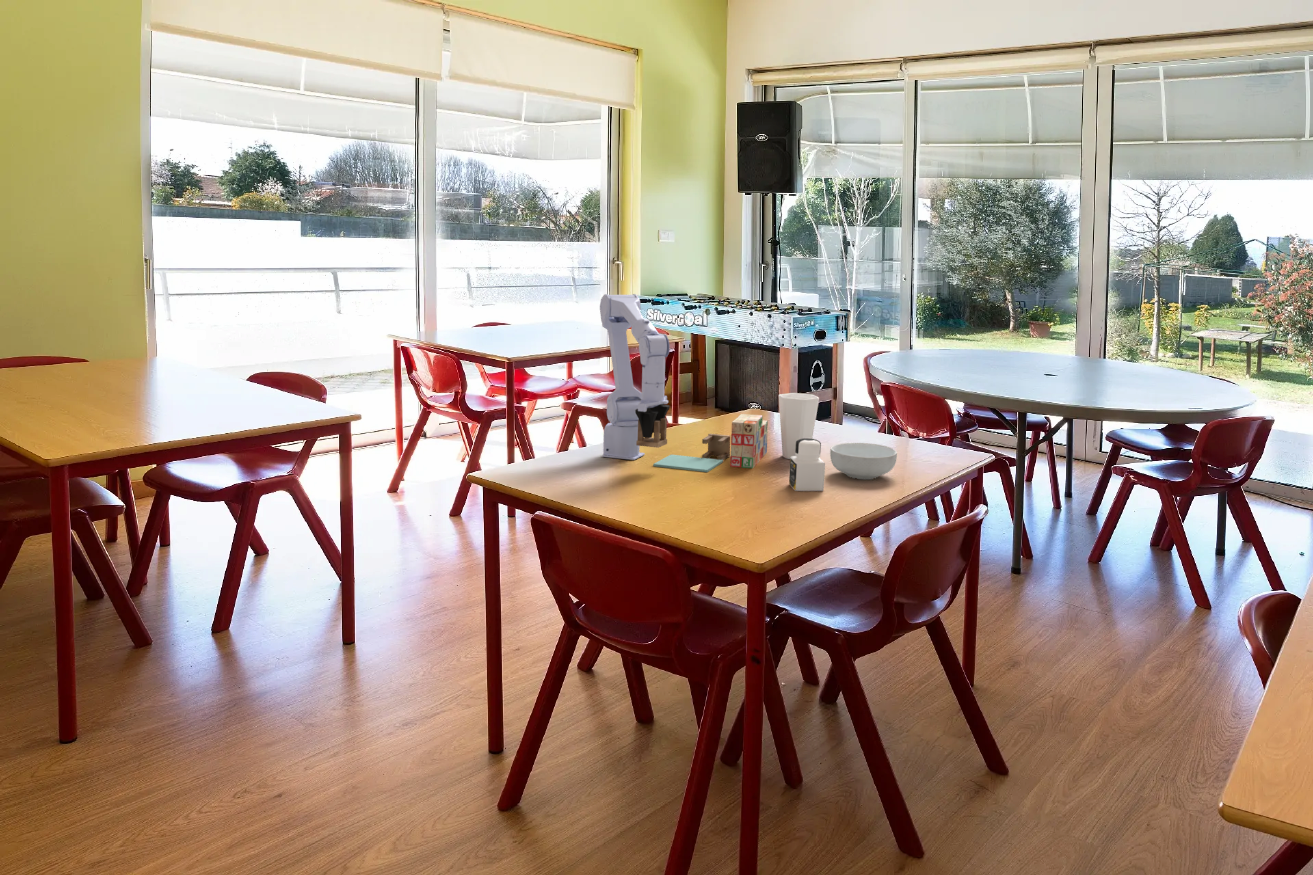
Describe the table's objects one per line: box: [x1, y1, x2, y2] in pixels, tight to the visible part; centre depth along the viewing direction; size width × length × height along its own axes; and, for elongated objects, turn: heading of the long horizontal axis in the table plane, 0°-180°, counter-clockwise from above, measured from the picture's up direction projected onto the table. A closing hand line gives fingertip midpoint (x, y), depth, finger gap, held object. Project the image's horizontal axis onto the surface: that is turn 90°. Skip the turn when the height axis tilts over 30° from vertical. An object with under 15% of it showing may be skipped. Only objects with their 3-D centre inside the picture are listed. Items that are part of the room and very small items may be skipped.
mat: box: [652, 454, 724, 473], centre depth 280 cm, size 15×13×1 cm
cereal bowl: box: [829, 442, 898, 480], centre depth 271 cm, size 17×17×7 cm
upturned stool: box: [636, 417, 668, 449], centre depth 270 cm, size 6×6×7 cm
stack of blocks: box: [729, 413, 769, 469], centre depth 287 cm, size 21×6×12 cm, turn 164°
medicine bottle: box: [788, 438, 826, 492], centre depth 257 cm, size 7×7×12 cm
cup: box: [778, 392, 820, 460], centre depth 290 cm, size 11×10×17 cm
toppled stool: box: [701, 433, 731, 461], centre depth 288 cm, size 6×6×7 cm
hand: (652, 435), depth 270 cm, fingers closed on upturned stool, 5 cm apart
